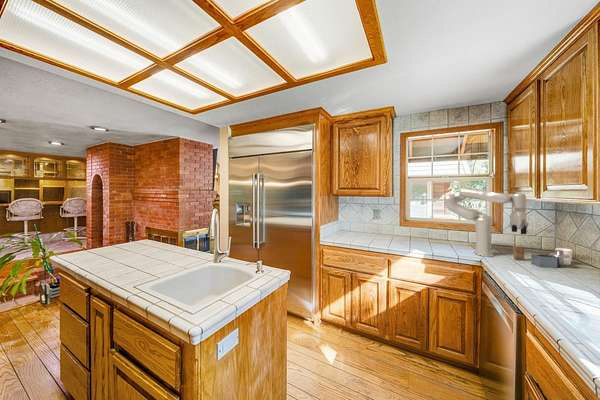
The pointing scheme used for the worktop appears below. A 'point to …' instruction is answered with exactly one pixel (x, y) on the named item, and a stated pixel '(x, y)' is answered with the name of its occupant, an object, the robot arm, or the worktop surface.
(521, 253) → the wedge peg
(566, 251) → the white cup
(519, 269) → the worktop surface
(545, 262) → the grey boxy piece
